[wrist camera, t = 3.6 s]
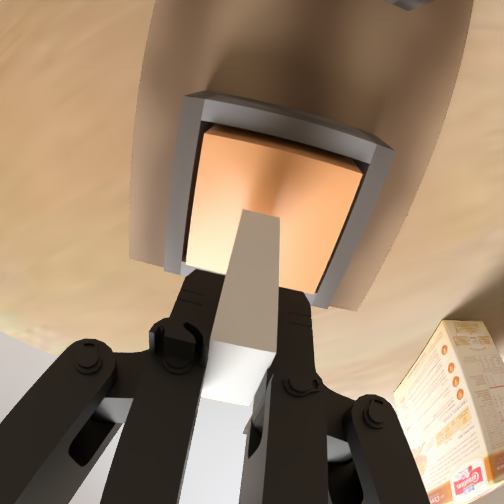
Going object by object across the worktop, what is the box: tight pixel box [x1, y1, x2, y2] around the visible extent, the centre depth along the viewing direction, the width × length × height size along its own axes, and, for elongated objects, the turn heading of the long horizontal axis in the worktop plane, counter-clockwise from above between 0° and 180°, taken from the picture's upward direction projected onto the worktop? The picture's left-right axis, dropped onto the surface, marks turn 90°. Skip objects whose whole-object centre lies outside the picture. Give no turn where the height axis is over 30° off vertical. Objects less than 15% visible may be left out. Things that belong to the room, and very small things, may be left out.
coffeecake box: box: [393, 320, 504, 504], centre depth 24 cm, size 15×7×20 cm, turn 176°
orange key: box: [186, 123, 363, 295], centre depth 16 cm, size 7×7×3 cm
